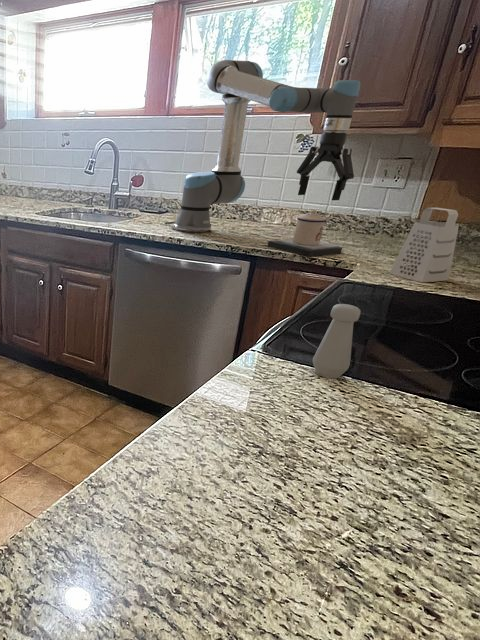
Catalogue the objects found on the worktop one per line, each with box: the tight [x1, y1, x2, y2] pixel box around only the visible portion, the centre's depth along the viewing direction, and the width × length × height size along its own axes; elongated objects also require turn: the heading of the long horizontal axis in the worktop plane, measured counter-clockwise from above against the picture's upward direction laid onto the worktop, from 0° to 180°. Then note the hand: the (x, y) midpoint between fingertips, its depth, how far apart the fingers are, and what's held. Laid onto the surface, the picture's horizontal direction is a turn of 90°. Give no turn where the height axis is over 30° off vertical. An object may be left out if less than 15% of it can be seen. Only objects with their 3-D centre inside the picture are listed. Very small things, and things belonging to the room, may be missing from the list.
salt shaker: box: [312, 303, 361, 380], centre depth 93 cm, size 6×6×13 cm
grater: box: [388, 207, 460, 283], centre depth 155 cm, size 10×10×20 cm
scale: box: [267, 238, 343, 258], centre depth 192 cm, size 18×16×2 cm
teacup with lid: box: [292, 209, 327, 245], centre depth 190 cm, size 12×9×12 cm
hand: (317, 197), depth 185 cm, fingers open, 13 cm apart
